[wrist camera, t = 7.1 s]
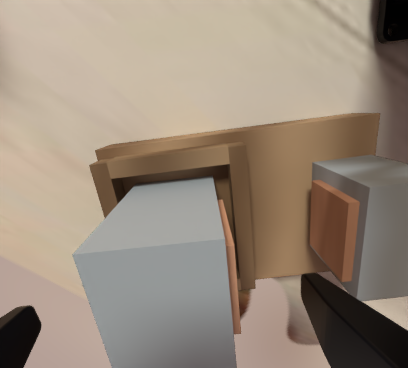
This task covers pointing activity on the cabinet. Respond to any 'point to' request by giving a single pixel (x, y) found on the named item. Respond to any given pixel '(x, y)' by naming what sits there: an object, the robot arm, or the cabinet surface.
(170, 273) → the grey block
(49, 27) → the cabinet surface
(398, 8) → the robot arm
